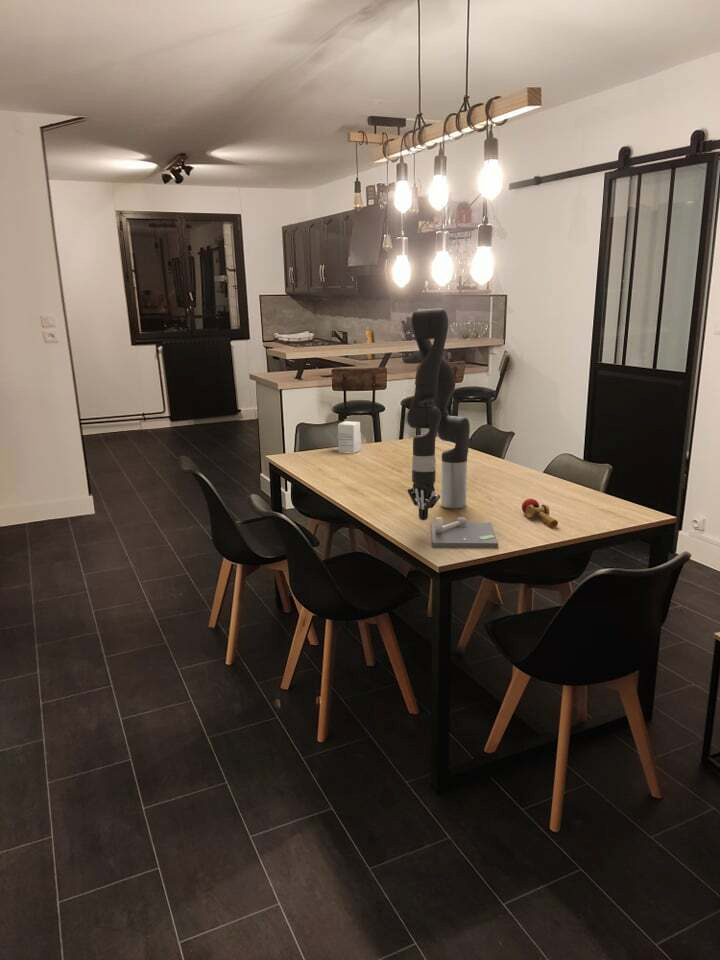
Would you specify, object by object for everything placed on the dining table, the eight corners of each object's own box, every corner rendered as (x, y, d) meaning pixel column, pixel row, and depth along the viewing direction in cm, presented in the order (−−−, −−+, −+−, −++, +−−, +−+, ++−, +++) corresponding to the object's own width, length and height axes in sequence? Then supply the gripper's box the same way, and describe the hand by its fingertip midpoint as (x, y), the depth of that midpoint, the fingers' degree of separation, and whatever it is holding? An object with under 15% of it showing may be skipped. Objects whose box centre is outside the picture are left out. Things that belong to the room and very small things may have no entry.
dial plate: (430, 526, 227) (430, 521, 227) (490, 526, 226) (491, 521, 225) (432, 547, 208) (432, 542, 208) (498, 547, 207) (498, 542, 206)
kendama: (565, 530, 226) (536, 508, 241) (564, 513, 223) (535, 492, 239) (544, 536, 224) (517, 513, 240) (544, 520, 221) (516, 498, 237)
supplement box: (345, 449, 348) (344, 420, 344) (361, 450, 344) (360, 421, 341) (338, 453, 340) (337, 423, 336) (354, 454, 336) (353, 424, 333)
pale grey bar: (461, 522, 225) (461, 509, 224) (467, 524, 223) (468, 511, 222) (432, 531, 217) (432, 518, 216) (439, 533, 215) (439, 520, 213)
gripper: (401, 466, 219) (401, 517, 223) (430, 473, 209) (430, 526, 213) (417, 462, 223) (417, 512, 228) (447, 469, 213) (446, 521, 218)
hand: (423, 519), depth 220 cm, fingers closed
